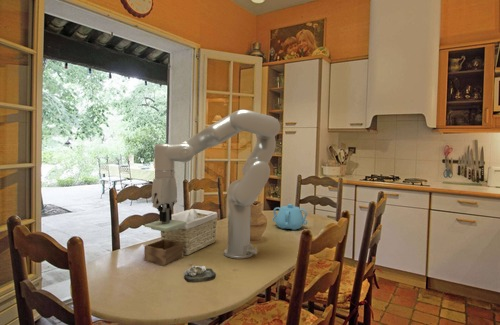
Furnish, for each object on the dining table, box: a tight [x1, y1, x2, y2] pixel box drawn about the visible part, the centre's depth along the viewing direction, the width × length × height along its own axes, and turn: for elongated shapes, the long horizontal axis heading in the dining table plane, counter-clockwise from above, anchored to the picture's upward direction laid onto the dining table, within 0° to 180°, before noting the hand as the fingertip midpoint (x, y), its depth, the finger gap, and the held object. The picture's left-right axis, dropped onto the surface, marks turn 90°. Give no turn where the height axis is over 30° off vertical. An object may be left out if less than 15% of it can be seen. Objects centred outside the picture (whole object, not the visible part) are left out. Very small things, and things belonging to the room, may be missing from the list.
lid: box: [144, 207, 186, 232], centre depth 128 cm, size 11×11×8 cm
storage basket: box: [160, 208, 218, 256], centre depth 145 cm, size 24×16×15 cm
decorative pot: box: [272, 203, 308, 231], centre depth 182 cm, size 16×16×14 cm
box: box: [143, 239, 184, 267], centre depth 129 cm, size 11×11×6 cm
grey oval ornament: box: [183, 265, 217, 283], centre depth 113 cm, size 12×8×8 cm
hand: (165, 220), depth 128 cm, fingers closed on lid
